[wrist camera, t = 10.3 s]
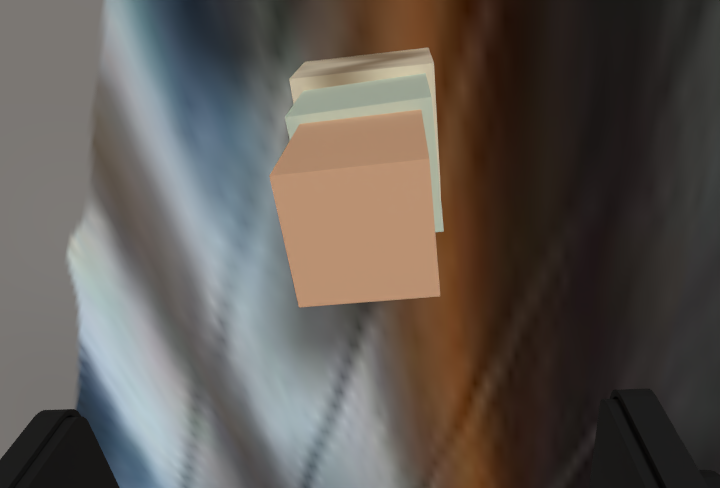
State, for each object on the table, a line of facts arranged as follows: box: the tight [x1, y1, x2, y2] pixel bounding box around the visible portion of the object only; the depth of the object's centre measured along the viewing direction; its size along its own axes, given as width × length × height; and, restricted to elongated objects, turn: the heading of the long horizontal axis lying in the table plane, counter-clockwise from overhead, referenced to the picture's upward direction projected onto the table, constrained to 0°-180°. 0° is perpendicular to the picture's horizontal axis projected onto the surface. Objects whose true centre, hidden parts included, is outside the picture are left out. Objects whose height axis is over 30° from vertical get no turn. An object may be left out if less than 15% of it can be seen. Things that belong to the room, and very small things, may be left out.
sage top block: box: [285, 73, 444, 232], centre depth 25 cm, size 6×6×5 cm
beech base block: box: [289, 48, 441, 196], centre depth 30 cm, size 7×7×5 cm
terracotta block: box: [270, 110, 440, 307], centre depth 20 cm, size 5×5×6 cm
